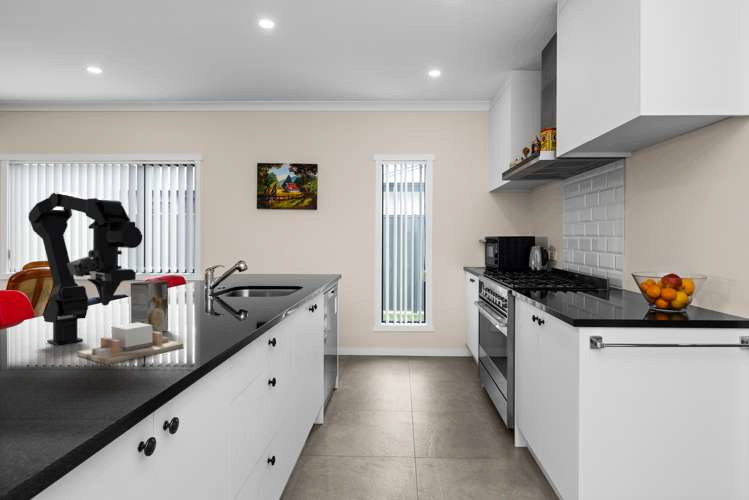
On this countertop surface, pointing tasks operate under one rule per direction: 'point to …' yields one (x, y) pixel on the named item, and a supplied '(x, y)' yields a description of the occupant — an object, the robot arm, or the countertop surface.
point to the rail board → (116, 353)
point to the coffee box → (150, 304)
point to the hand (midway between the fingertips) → (105, 305)
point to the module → (133, 335)
